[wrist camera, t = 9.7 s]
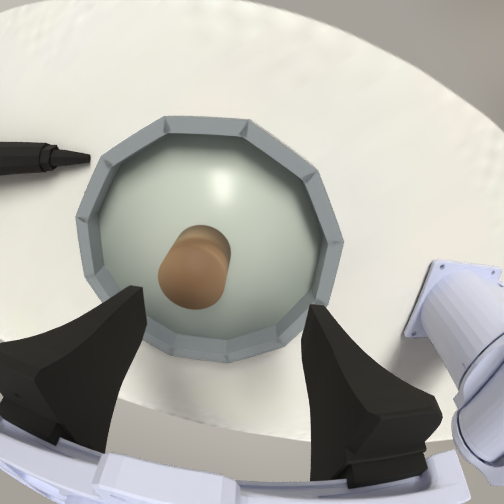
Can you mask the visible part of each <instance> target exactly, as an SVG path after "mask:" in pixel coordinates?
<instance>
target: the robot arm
mask: <svg viewBox="0 0 504 504" xmlns="http://www.w3.org/2000/svg"><path fill="white" fill-rule="evenodd" d="M441 265H442V267H441V268H440V266H441ZM501 273H502V269H501V268H499V267H494V266H486V265H478V264H471V263H463V262H455V261H447V260H439V259H437V260H434V261H433V262H432V264H431V267H430V270H429V273H428V275H427V278H426V281H425V283H424V286H423V289H422V291H421V294H420V296H419V299H418V301H417V304H416V306H415V308H414V311H413V313H412V315H411V318H410V320H409V322H408V324H407V326H406V329H405V331H404V335H405V337H406V338H419V337H429V339H430V340H431V342H432V344H433V345H434V347H435V349H436V351H437V352H438V354H439V356H440V358H441V359H442V361H443V363H444V365H445V367H446V368H447V370H448V372H449V374H450V376H451V378H452V379H453V381H454V383H455V385H456V387H457V389H458V391H459V392H458V393H457V395H456V396H455V397H454V398H453V400H454V402H455V404H456V406H457V408H458V409H457V410H456V412H455V413H454V415H453V417H452V424H451V428H452V436H453V440H454V443H455V446H456V448H457V450H458V452H459V453H460V455H461V456H462V457H463V458H464V459H465V460H466V461H467V462H469V463H470V464H472V465H473V466H475V467H476V468H477V469H478V470H479V471H480V472H481V473H482V474H483V475H484V476H485V478H486V479H487V481H488V483H489V484H490V485H492V486H504V283H503V282H502V281H501V280H500V279H499V278H500V276H501ZM146 326H147V317H146V310H145V302H144V294H143V287H140V286H133V285H130V286H128V287H126V288H124V289H123V290H121V291H120V292H118V293H117V294H115V295H114V296H112V297H111V298H109V299H108V300H106V301H105V302H103V303H102V304H100V305H99V306H97V307H96V308H94V309H92V310H91V311H89V312H87V313H86V314H84V315H82V316H81V317H79V318H77V319H75V320H73V321H71V322H69V323H67V324H65V325H63V326H60V327H58V328H55V329H53V330H50V331H47V332H45V333H42V334H39V335H36V336H32V337H28V338H24V339H20V340H15V341H9V342H3V343H0V393H1V394H2V395H3V399H2V401H1V402H0V469H2V470H3V471H4V472H6V473H8V474H9V475H11V476H12V477H14V478H15V479H16V480H18V481H20V482H21V483H23V484H25V485H26V486H28V487H29V488H31V489H33V490H35V491H36V492H38V493H39V494H41V495H43V496H45V497H47V498H49V499H50V500H52V501H54V502H56V503H58V504H463V503H465V502H466V501H468V500H469V499H470V498H471V496H470V492H469V489H468V486H467V483H466V480H465V477H464V474H463V471H462V468H461V465H460V462H459V459H458V457H457V454H456V451H455V450H454V449H452V450H449V451H445V452H442V453H438V454H435V455H432V456H430V457H428V458H426V459H425V457H424V454H423V452H425V451H426V445H425V441H426V440H427V439H428V438H429V437H430V436H431V435H432V433H433V432H434V431H435V430H436V429H437V428H438V426H439V425H440V423H441V421H442V418H443V416H442V412H441V410H440V408H439V405H438V403H437V401H436V399H435V397H434V396H433V395H431V394H428V393H426V392H424V391H422V390H420V389H417V388H415V387H413V386H411V385H410V384H408V383H406V382H404V381H403V380H401V379H399V378H398V377H396V376H395V375H393V374H392V373H390V372H389V371H387V370H386V369H385V368H383V367H382V366H381V365H379V364H378V363H377V362H376V361H374V360H373V359H372V358H371V357H370V356H369V355H367V354H366V353H365V352H364V351H363V350H362V349H361V348H360V347H359V346H358V345H357V344H356V343H355V342H354V341H353V340H352V339H351V338H350V336H349V335H348V334H347V333H346V332H345V331H344V330H343V328H342V327H341V326H340V325H339V324H338V322H337V321H336V320H335V319H334V317H333V316H332V315H331V314H330V312H329V311H328V310H327V309H326V307H325V306H324V305H316V304H310V305H309V309H308V314H307V318H306V322H305V326H304V330H303V334H302V338H301V352H302V363H303V369H304V375H305V381H306V386H307V392H308V398H309V405H310V418H311V473H310V474H311V475H310V482H256V481H240V480H234V479H232V478H229V477H227V476H224V475H222V474H217V473H212V472H208V471H202V470H195V469H189V468H183V467H177V466H172V465H167V464H162V463H158V462H153V461H149V460H145V459H141V458H137V457H133V456H129V455H125V454H120V453H114V452H111V453H106V454H105V449H106V443H107V437H108V432H109V427H110V423H111V419H112V415H113V411H114V407H115V404H116V400H117V397H118V394H119V391H120V387H121V385H122V382H123V380H124V378H125V376H126V373H127V371H128V369H129V367H130V365H131V363H132V361H133V359H134V357H135V355H136V352H137V350H138V348H139V346H140V344H141V342H142V339H143V336H144V333H145V330H146ZM413 332H414V333H413Z"/></svg>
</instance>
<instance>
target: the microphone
mask: <svg viewBox="0 0 504 504" xmlns="http://www.w3.org/2000/svg"><path fill="white" fill-rule="evenodd" d="M89 161H90V155H89V154H84V153H79V152H73V151H68V150H59V149H58V147H57V145H50V144H47V143H32V142H0V175H10V174H23V173H39V172H46V171H53V170H54V169H55V168H56V167H57V166H64V165H73V164H80V163H88V162H89Z"/></svg>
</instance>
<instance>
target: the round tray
mask: <svg viewBox="0 0 504 504" xmlns="http://www.w3.org/2000/svg"><path fill="white" fill-rule="evenodd" d="M76 225H77V233H78V241H79V247H80V254H81V260H82V266H83V271H84V276H85V278H86V280H87V281H88V283H89V284H90V286H91V287H92V289H93V290H94V292H95V293H96V294H97V296H98V297H99V299H100V300H101V302H102V303H103V302H105V301H106V300H108V299H109V298H111V297H112V296H114V295H115V294H117V293H118V292H120V291H121V290H123V289H124V288H126V287H128V286H130V285H133V286H140V287H143V294H144V302H145V310H146V317H147V326H146V330H145V333H144V336H143V339H142V340H144V341H146V342H147V343H149V344H151V345H153V346H154V347H156V348H158V349H160V350H161V351H163V352H165V353H167V354H169V355H171V356H178V357H184V358H191V359H198V360H206V361H214V362H223V363H231V362H234V361H238V360H242V359H245V358H249V357H252V356H256V355H259V354H262V353H266V352H269V351H272V350H275V349H279V348H282V347H285V346H286V345H287V344H288V343H289V342H290V341H291V340H292V339H293V338H294V337H296V336H297V335H298V334H299V333H300V332H301V331H302V330H303V329H304V326H305V322H306V318H307V314H308V309H309V305H310V304H316V305H324V306H325V307H327V306H328V303H329V300H330V296H331V292H332V289H333V285H334V281H335V277H336V273H337V269H338V265H339V261H340V257H341V253H342V249H343V244H344V240H343V237H342V234H341V231H340V228H339V225H338V222H337V220H336V217H335V214H334V211H333V208H332V206H331V203H330V200H329V198H328V195H327V192H326V190H325V187H324V184H323V182H322V179H321V177H320V174H319V171H318V170H317V169H316V168H315V167H314V166H313V165H312V164H311V163H310V162H308V161H307V160H306V159H304V158H303V157H302V156H300V155H299V154H298V153H296V152H295V151H294V150H292V149H291V148H290V147H288V146H287V145H286V144H284V143H283V142H282V141H280V140H279V139H277V138H276V137H275V136H273V135H272V134H270V133H269V132H268V131H266V130H265V129H263V128H262V127H260V126H259V125H258V124H256V123H255V122H253V121H252V120H249V119H237V118H222V117H202V116H163V117H162V118H160V119H158V120H156V121H155V122H153V123H151V124H150V125H148V126H146V127H145V128H143V129H141V130H140V131H138V132H137V133H135V134H133V135H132V136H130V137H129V138H127V139H126V140H124V141H123V142H121V143H120V144H118V145H117V146H115V147H114V148H112V149H111V150H109V151H108V152H106V153H105V154H103V155H102V156H101V157H100V159H99V161H98V164H97V166H96V168H95V170H94V172H93V175H92V177H91V179H90V182H89V184H88V186H87V189H86V191H85V194H84V196H83V198H82V201H81V204H80V206H79V209H78V211H77V214H76ZM195 225H207V226H210V227H213V228H215V229H217V230H219V231H220V232H221V233H222V234H223V235H224V236H225V237H226V238H227V240H228V242H229V244H230V248H231V258H230V263H229V268H228V273H227V278H226V283H225V288H224V292H223V294H222V296H221V298H220V299H219V300H218V301H217V302H216V303H215V304H214V305H212V306H210V307H208V308H205V309H200V310H192V309H186V308H183V307H180V306H178V305H176V304H174V303H173V302H172V301H170V300H169V299H168V298H167V297H166V296H165V295H164V293H163V292H162V290H161V288H160V286H159V282H158V270H159V267H160V265H161V263H162V261H163V260H164V258H165V257H166V255H167V253H168V252H169V250H170V249H171V247H172V245H173V244H174V242H175V241H176V239H177V238H178V236H179V235H180V233H181V232H182V231H184V230H185V229H187V228H188V227H191V226H195Z"/></svg>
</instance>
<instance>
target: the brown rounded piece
mask: <svg viewBox="0 0 504 504" xmlns="http://www.w3.org/2000/svg"><path fill="white" fill-rule="evenodd" d="M230 258H231V248H230V244H229V242H228V240H227V238H226V237H225V236H224V235H223V234H222V233H221V232H220V231H219V230H217V229H215V228H213V227H210V226H207V225H195V226H191V227H188V228H187V229H185V230H184V231H182V232H181V233H180V235H179V236H178V238H177V239H176V241H175V242H174V244H173V245H172V247H171V249H170V250H169V252H168V253H167V255H166V257H165V258H164V260H163V261H162V263H161V265H160V267H159V270H158V282H159V286H160V288H161V290H162V292H163V293H164V295H165V296H166V297H167V298H168V299H169V300H170V301H172V302H173V303H174V304H176V305H178V306H180V307H183V308H186V309H192V310H200V309H205V308H208V307H210V306H212V305H214V304H215V303H216V302H217V301H218V300H219V299H220V298H221V296H222V294H223V292H224V288H225V283H226V278H227V273H228V268H229V263H230Z"/></svg>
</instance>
